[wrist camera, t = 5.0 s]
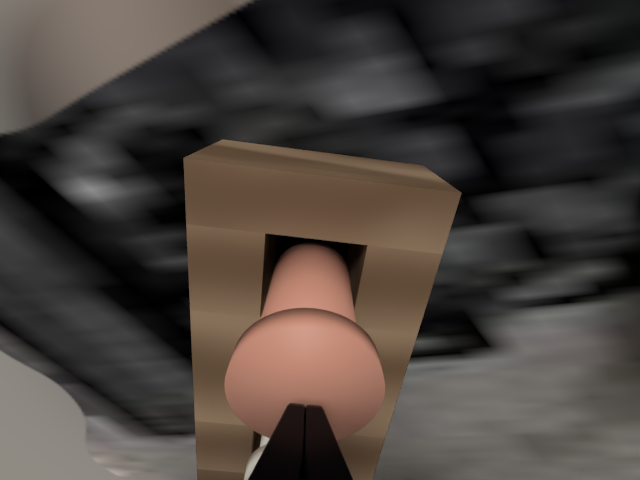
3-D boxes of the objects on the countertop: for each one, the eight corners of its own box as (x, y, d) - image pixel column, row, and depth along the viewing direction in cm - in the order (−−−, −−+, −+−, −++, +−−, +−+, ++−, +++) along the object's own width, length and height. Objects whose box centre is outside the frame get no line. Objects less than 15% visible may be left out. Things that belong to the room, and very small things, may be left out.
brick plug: (351, 320, 15) (368, 450, 10) (260, 310, 15) (223, 438, 9) (368, 237, 13) (401, 337, 8) (265, 225, 13) (224, 319, 8)
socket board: (355, 431, 25) (363, 507, 20) (221, 419, 24) (198, 495, 20) (422, 165, 16) (461, 193, 12) (222, 139, 16) (183, 157, 11)
